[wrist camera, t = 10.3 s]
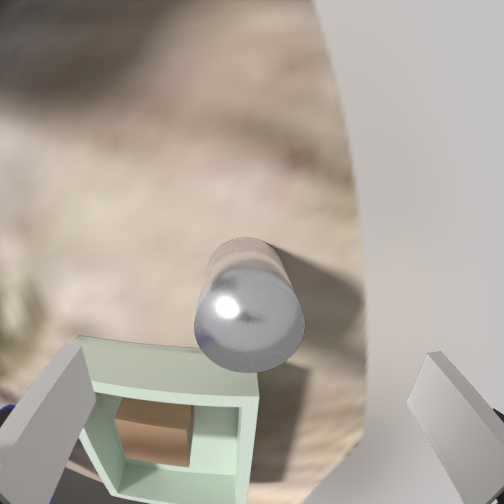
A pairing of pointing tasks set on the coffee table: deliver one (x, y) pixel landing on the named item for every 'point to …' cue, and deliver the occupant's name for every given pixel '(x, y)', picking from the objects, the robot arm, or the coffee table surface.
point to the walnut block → (156, 431)
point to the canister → (248, 309)
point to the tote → (179, 392)
